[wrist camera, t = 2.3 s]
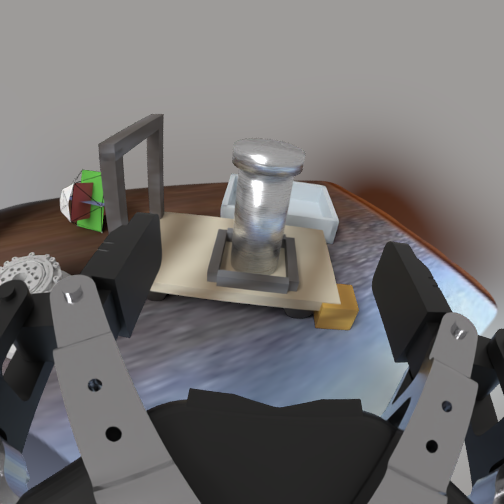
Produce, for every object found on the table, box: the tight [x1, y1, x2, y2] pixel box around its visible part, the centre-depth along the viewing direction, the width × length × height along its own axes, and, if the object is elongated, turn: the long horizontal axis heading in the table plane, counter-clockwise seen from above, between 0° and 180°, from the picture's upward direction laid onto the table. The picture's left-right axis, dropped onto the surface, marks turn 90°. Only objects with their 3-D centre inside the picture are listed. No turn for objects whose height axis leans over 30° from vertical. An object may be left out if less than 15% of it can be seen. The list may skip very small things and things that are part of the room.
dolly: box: [98, 114, 359, 330], centre depth 25 cm, size 20×12×13 cm, turn 87°
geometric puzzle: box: [60, 169, 106, 233], centre depth 31 cm, size 7×7×8 cm
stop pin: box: [230, 138, 305, 275], centre depth 23 cm, size 5×5×10 cm
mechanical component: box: [0, 252, 71, 359], centre depth 20 cm, size 10×4×10 cm
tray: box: [220, 174, 339, 244], centre depth 38 cm, size 13×10×3 cm
